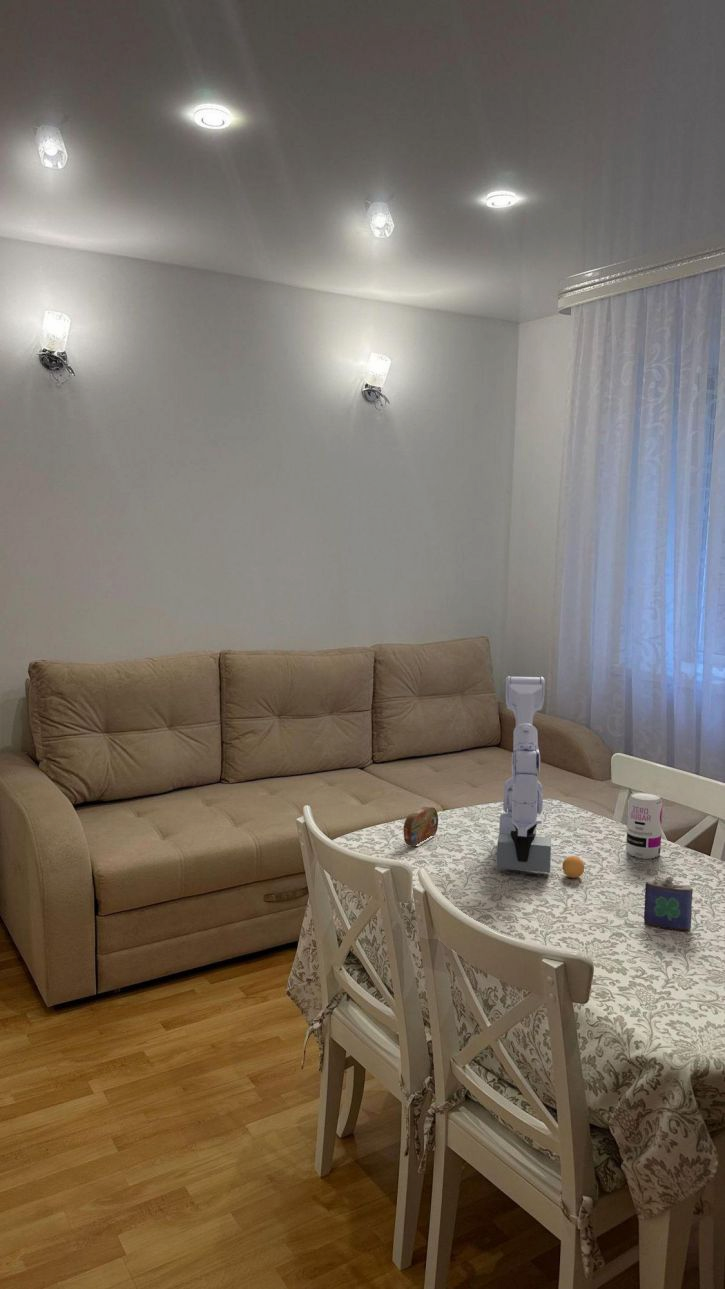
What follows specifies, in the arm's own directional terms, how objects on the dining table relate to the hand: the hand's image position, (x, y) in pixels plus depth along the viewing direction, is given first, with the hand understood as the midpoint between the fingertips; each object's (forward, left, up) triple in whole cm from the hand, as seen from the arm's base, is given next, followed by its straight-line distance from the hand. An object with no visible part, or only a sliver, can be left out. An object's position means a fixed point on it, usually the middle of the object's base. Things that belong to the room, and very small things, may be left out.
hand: (523, 856), depth 215 cm
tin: (-27, +16, -4) cm, 32 cm away
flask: (+31, -23, -4) cm, 38 cm away
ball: (+12, 0, -2) cm, 12 cm away
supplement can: (+29, +20, -4) cm, 35 cm away
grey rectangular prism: (0, 0, -2) cm, 2 cm away
